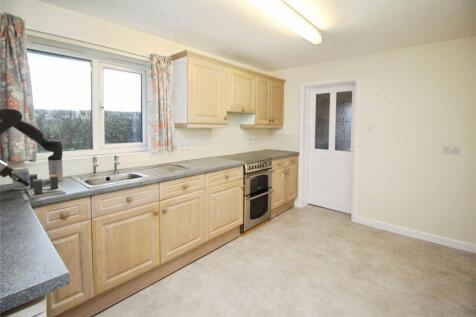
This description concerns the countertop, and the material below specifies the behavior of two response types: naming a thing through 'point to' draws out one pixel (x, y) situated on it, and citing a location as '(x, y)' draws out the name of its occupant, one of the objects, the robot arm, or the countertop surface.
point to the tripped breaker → (53, 181)
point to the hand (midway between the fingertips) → (28, 185)
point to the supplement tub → (24, 174)
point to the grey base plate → (41, 188)
